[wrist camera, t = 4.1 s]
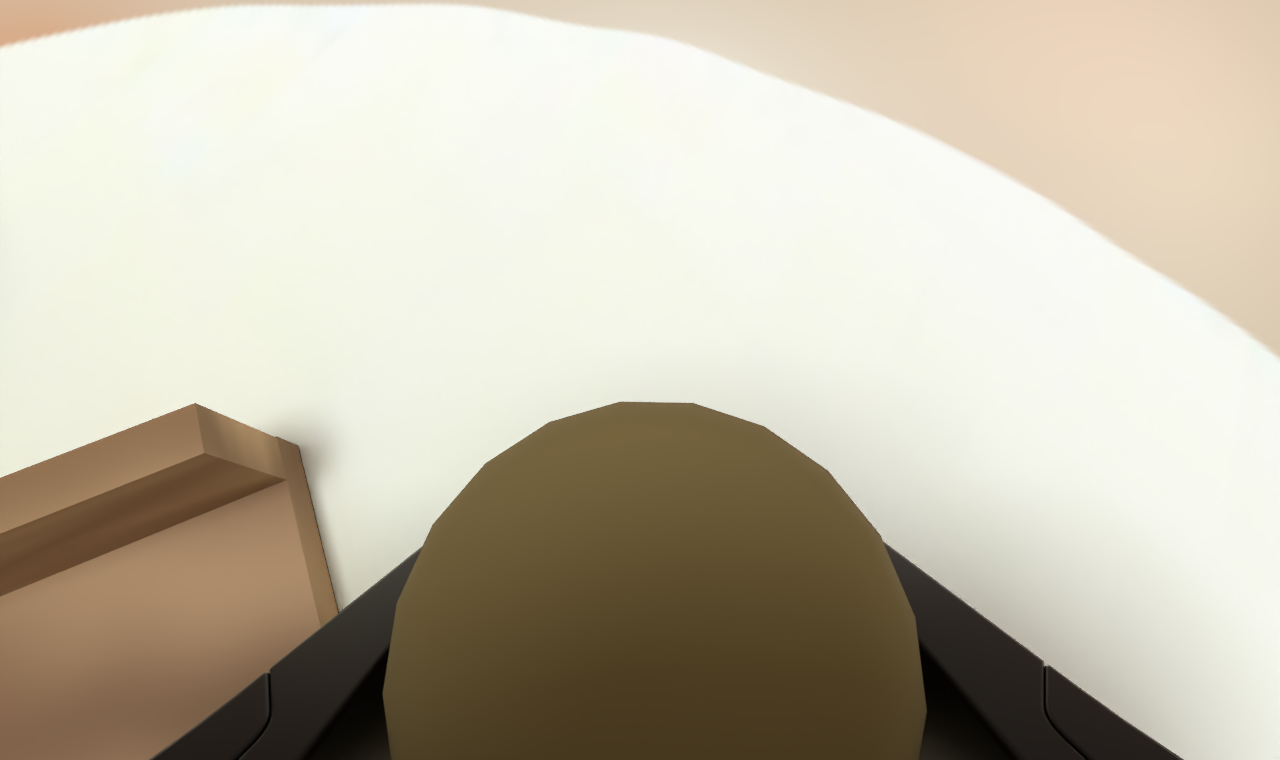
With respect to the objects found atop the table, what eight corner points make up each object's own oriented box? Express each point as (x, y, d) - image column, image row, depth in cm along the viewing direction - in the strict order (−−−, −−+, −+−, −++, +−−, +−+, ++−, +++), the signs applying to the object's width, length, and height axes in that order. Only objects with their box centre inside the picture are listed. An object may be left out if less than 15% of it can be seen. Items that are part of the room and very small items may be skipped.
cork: (707, 814, 13) (886, 1519, 3) (484, 673, 15) (78, 854, 4) (811, 568, 15) (1145, 505, 5) (606, 459, 16) (529, 218, 6)
